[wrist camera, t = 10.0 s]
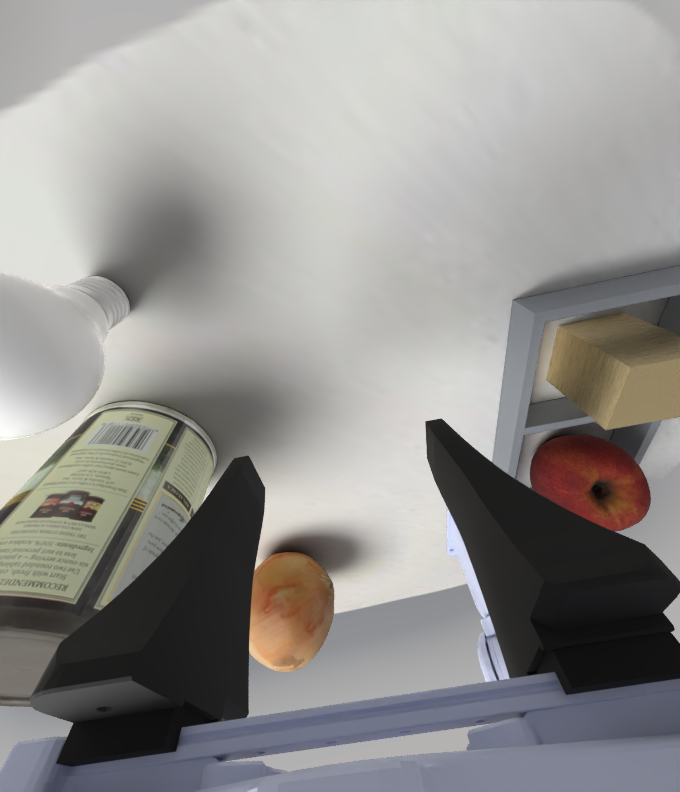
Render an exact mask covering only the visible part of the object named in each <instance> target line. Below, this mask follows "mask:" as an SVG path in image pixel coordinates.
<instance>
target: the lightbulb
mask: <svg viewBox="0 0 680 792" xmlns="http://www.w3.org/2000/svg"><path fill="white" fill-rule="evenodd" d="M129 310H130V305H129V301H128V298H127V296H126V295H125V293H124V292H123V290H122V289H121V288H120V287H119V286H118V285H116V284H115V283H114V282H112V281H110V280H108V279H106V278H103V277H99V276H89V277H86V278H84V279H81V280H79V281H76V282H74V283H71V284H69V285H66V286H61V285H47V286H44V285H42V284H40V283H37V282H34V281H32V280H29V279H26V278H23V277H20V276H16V275H12V274H8V273H3V272H0V441H1V440H11V439H18V438H23V437H28V436H32V435H36V434H39V433H42V432H45V431H48V430H50V429H53V428H55V427H57V426H59V425H61V424H63V423H65V422H66V421H68V420H70V419H71V418H73V417H74V416H75V415H77V414H78V413H79V412H80V411H81V410H83V409H84V408H85V407H86V406H87V404H88V403H89V402H90V401H91V400H92V398H93V397H94V396H95V394H96V392H97V391H98V389H99V386H100V384H101V381H102V378H103V374H104V368H105V356H104V349H103V345H102V343H103V342H104V340H105V338H106V336H107V333H108V330H110V329H111V328H112V327H114V326H115V325H117V324H118V323H120V322H121V321H122V320H124V319H125V318H126V317H127V315H128V314H129Z"/></svg>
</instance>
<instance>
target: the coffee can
mask: <svg viewBox="0 0 680 792" xmlns="http://www.w3.org/2000/svg"><path fill="white" fill-rule="evenodd" d="M216 462H217V455H216V450H215V447H214V445H213V443H212V441H211V439H210V437H209V436H208V435H207V434H206V433H205V432H204V431H203V429H202V428H201V427H200V426H198V425H197V424H196V423H195V422H194V421H193V420H191V419H189V418H188V417H186V416H185V415H183V414H181V413H179V412H177V411H175V410H173V409H170V408H168V407H164V406H160V405H156V404H152V403H146V402H137V401H127V402H118V403H112V404H108V405H105V406H103V407H101V408H98V409H96V410H95V411H93V412H92V413H91V414H90V415H88V416H87V417H86V419H85V420H84V421H83V423H82V424H81V425H80V427H79V428H78V429H77V430H76V431H75V432H74V433H73V434H72V435H71V436H70V437H69V438H68V439H67V440H66V441H65V442H64V443H63V444H62V446H61V447H60V448H59V449H58V450H57V451H56V452H55V453H54V454H53V455H52V456H51V457H50V458H49V459H48V460H47V461H46V463H45V464H44V465H43V466H42V467H41V468H40V469H39V470H38V471H37V472H36V473H35V474H34V475H33V476H32V477H31V478H30V479H29V480H28V481H27V483H26V484H25V485H24V486H23V487H22V488H21V489H20V490H19V491H18V492H17V493H16V494H15V495H14V496H13V497H12V498H11V499H10V500H9V502H8V503H7V504H6V505H5V506H4V507H3V508H2V509H1V510H0V706H24V707H25V706H26V707H31V704H30V697H31V695H32V693H33V691H34V689H35V688H36V686H37V684H38V682H39V680H40V679H41V677H42V675H43V673H44V671H45V669H46V668H47V666H48V664H49V662H50V660H51V659H52V657H53V655H54V653H55V651H56V650H57V648H58V646H59V644H60V643H61V642H62V641H63V640H64V639H66V638H67V637H68V636H69V635H71V634H72V633H73V632H74V631H76V630H77V629H78V628H79V627H81V626H82V625H83V624H84V623H86V622H87V621H88V620H89V619H90V618H92V617H93V616H94V615H95V614H97V613H98V612H99V611H100V610H101V609H103V608H104V607H105V606H106V605H107V604H108V603H110V602H111V601H112V600H113V599H114V598H115V597H116V596H117V595H119V594H120V593H121V592H122V591H123V590H124V589H125V588H126V587H127V586H129V585H130V584H131V583H132V582H133V581H134V580H135V579H136V578H137V577H138V576H139V575H140V574H141V573H142V572H143V571H144V570H145V569H146V568H147V567H148V566H149V565H150V564H151V563H152V562H153V561H154V560H155V559H156V558H157V557H158V556H159V555H160V554H161V553H162V552H163V551H164V550H165V549H166V547H167V546H168V545H169V544H170V543H171V542H172V541H173V540H174V539H175V537H176V536H177V535H178V534H179V533H180V532H181V530H182V529H183V528H184V527H185V525H186V524H187V523H188V522H189V520H190V519H191V518H192V516H193V515H194V514H195V513H196V511H197V510H198V509H199V507H200V506H201V505H202V502H203V499H204V496H205V493H206V490H207V487H208V484H209V481H210V478H211V476H212V474H213V472H214V470H215V467H216Z"/></svg>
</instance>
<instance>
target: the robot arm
mask: <svg viewBox="0 0 680 792" xmlns="http://www.w3.org/2000/svg"><path fill="white" fill-rule="evenodd" d="M426 443H427V459H428V462H429V465H430V468H431V471H432V474H433V477H434V480H435V482H436V484H437V486H438V488H439V491H440V493H441V495H442V497H443V499H444V501H445V503H446V505H447V507H448V508H447V555H448V556H450V557H452V556H457V558H458V560H459V563H460V565H461V568H462V571H463V573H464V576H465V578H466V581H467V584H468V586H469V589H470V591H471V594H472V597H473V599H474V602H475V604H476V607H477V609H478V611H479V612H480V614H481V615H482V616H483V617H484V619H481V620H480V621H481V624H482V626H483V629H484V632H482V633H481V634H480V635H479V642H478V646H477V650H478V657H479V662H480V665H481V669H482V672H483V675H484V678H485V681H486V682H484V683H477V684H471V685H464V686H457V687H451V688H444V689H437V690H430V691H423V692H417V693H411V694H403V695H397V696H390V697H384V698H376V699H370V700H363V701H356V702H350V703H343V704H336V705H329V706H323V707H316V708H309V709H302V710H296V711H290V712H283V713H276V714H269V715H262V716H256V717H249V718H246V717H247V715H248V713H249V711H248V710H249V709H248V676H249V672H248V671H249V670H248V669H249V668H248V667H249V634H250V616H251V600H252V586H253V576H254V568H255V562H256V557H257V551H258V545H259V540H260V534H261V528H262V522H263V516H264V505H265V487H264V485H263V483H262V481H261V479H260V477H259V475H258V473H257V471H256V469H255V467H254V465H253V463H252V461H251V459H250V457H249V456H244V457H239V458H234V459H233V461H232V462H231V463H230V465H229V466H228V468H227V469H226V471H225V472H224V474H223V475H222V476H221V478H220V479H219V481H218V482H217V484H216V485H215V487H214V488H213V490H212V491H211V492H210V494H209V495H208V497H207V498H206V499H205V501H204V502H203V504H202V505H201V506H200V507H199V509H198V510H197V511H196V513H195V514H194V515H193V516H192V518H191V519H190V520H189V522H188V523H187V524H186V525H185V527H184V528H183V529H182V530H181V532H180V533H179V534H178V535H177V536H176V537H175V539H174V540H173V541H172V542H171V543H170V544H169V545H168V546H167V547H166V549H165V550H164V551H163V552H162V553H161V554H160V555H159V556H158V557H157V558H156V559H155V560H154V561H153V562H152V563H151V564H150V565H149V566H148V567H147V568H146V569H145V570H144V571H143V572H142V573H141V574H140V575H139V576H138V577H137V578H136V579H135V580H134V581H133V582H132V583H131V584H130V585H129V586H127V587H126V588H125V589H124V590H123V591H122V592H121V593H120V594H119V595H117V596H116V597H115V598H114V599H113V600H112V601H111V602H110V603H108V604H107V605H106V606H105V607H104V608H103V609H101V610H100V611H99V612H98V613H97V614H95V615H94V616H93V617H92V618H90V619H89V620H88V621H87V622H86V623H84V624H83V625H82V626H81V627H79V628H78V629H77V630H76V631H74V632H73V633H72V634H71V635H69V636H68V637H67V638H66V639H64V640H63V641H62V642H61V643H60V644H59V646H58V648H57V650H56V651H55V653H54V655H53V657H52V659H51V660H50V662H49V664H48V666H47V668H46V669H45V671H44V673H43V675H42V677H41V679H40V680H39V682H38V684H37V686H36V688H35V689H34V691H33V693H32V695H31V697H30V704H31V707H33V708H34V709H35V710H37V711H39V712H42V713H45V714H48V715H51V716H54V717H57V718H60V719H63V720H67V721H70V722H73V723H74V724H73V726H72V728H71V730H70V733H69V735H68V737H50V738H43V739H37V740H30V741H23V742H18V743H17V744H16V745H14V747H13V748H12V751H11V752H10V754H9V756H8V758H7V760H6V762H5V764H4V765H3V767H2V769H1V771H0V792H680V643H679V642H678V641H677V640H676V638H675V637H674V636H673V634H672V633H671V632H672V631H674V626H673V625H672V623H671V622H670V621H669V619H668V618H667V617H666V616H665V615H664V613H663V611H664V610H665V609H666V608H667V607H668V606H669V605H670V604H671V603H672V602H673V600H674V599H675V598H676V597H677V596H678V594H679V593H680V581H679V580H678V579H677V578H676V576H675V575H674V574H673V573H672V572H671V571H670V570H669V569H668V568H667V566H665V564H664V563H663V562H662V561H661V560H660V559H659V558H658V557H657V556H656V555H655V554H654V553H653V552H652V551H651V550H650V549H649V548H648V547H647V546H646V545H645V544H642V543H640V542H638V541H635V540H633V539H630V538H628V537H626V536H623V535H621V534H618V533H616V532H614V531H612V530H609V529H607V528H604V527H602V526H600V525H598V524H596V523H594V522H592V521H589V520H587V519H585V518H583V517H581V516H579V515H577V514H575V513H573V512H571V511H569V510H567V509H565V508H563V507H562V506H560V505H558V504H556V503H554V502H552V501H551V500H549V499H547V498H545V497H543V496H541V495H540V494H538V493H536V492H535V491H533V490H532V489H530V488H528V487H527V486H525V485H524V484H522V483H520V482H519V481H517V480H516V479H514V478H513V477H511V476H510V475H508V474H507V473H506V472H504V471H503V470H501V469H500V468H499V467H497V466H496V465H495V464H493V463H492V462H491V461H489V460H488V459H487V458H486V457H484V456H483V455H482V454H481V453H479V452H478V451H477V450H476V449H475V448H473V447H472V446H471V445H470V444H469V443H468V442H466V441H465V440H464V439H463V438H462V437H461V436H460V435H459V434H458V433H456V432H455V431H454V430H453V429H452V428H451V427H450V426H449V425H448V424H447V423H446V422H445V421H444V420H442V419H436V420H431V421H426ZM490 723H493V724H490ZM482 724H490V725H486V726H483V727H479V728H476V729H472V730H469V732H468V739H469V742H470V744H468V746H467V751H455V752H443V753H431V754H418V755H407V756H396V757H387V758H378V759H369V760H360V761H354V762H346V763H339V764H332V765H326V766H320V767H314V768H307V769H301V770H296V771H291V772H287V771H285V770H279V769H273V768H271V767H268V766H265V764H264V763H263V762H262V761H240V762H225V761H230V760H237V759H243V758H251V757H258V756H264V755H272V754H278V753H285V752H293V751H300V750H307V749H314V748H321V747H328V746H335V745H342V744H349V743H357V742H363V741H371V740H378V739H384V738H392V737H398V736H405V735H413V734H420V733H427V732H433V731H441V730H448V729H454V728H461V727H469V726H476V725H482Z"/></svg>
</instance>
